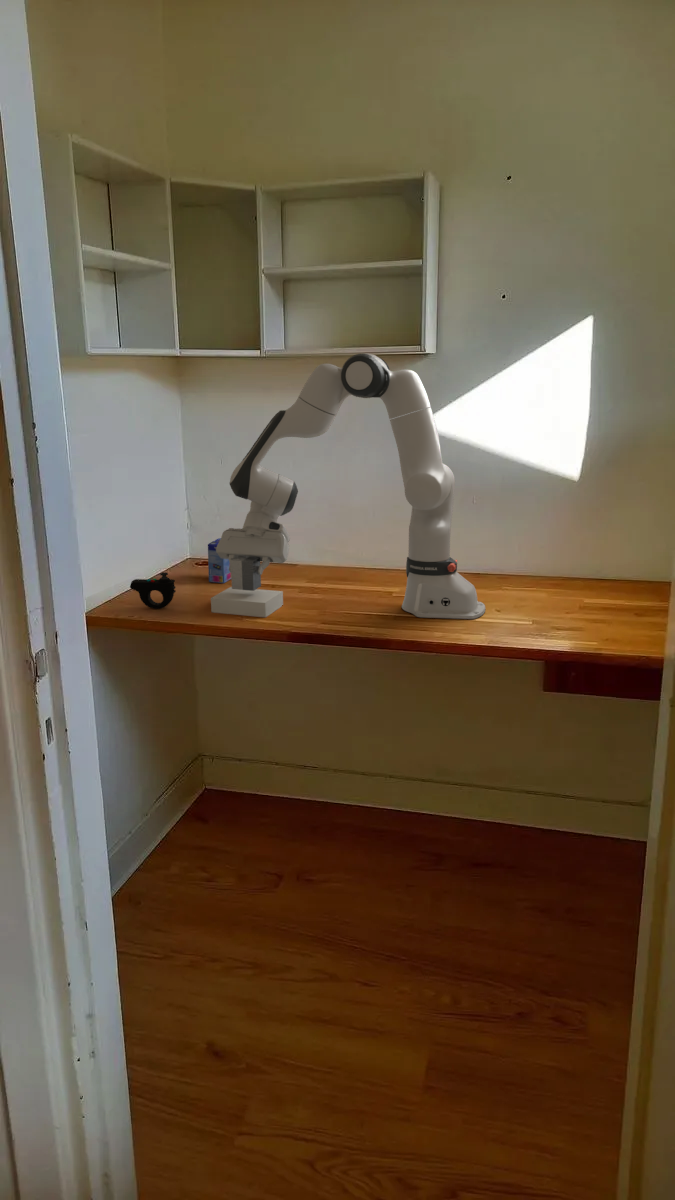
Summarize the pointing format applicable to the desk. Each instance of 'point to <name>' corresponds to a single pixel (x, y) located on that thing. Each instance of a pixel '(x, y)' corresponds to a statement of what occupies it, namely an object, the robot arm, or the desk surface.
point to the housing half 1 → (237, 572)
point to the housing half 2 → (250, 574)
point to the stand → (247, 602)
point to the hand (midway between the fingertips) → (245, 572)
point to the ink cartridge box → (217, 565)
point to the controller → (161, 585)
